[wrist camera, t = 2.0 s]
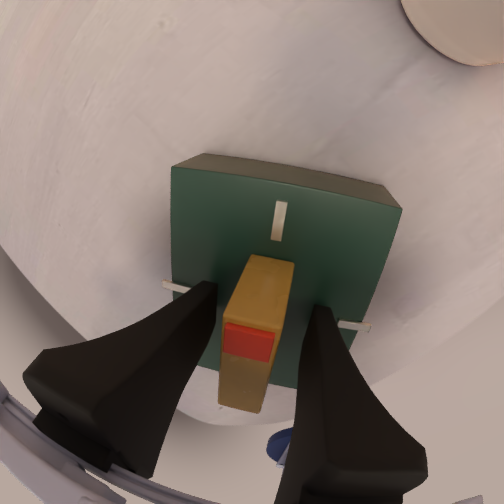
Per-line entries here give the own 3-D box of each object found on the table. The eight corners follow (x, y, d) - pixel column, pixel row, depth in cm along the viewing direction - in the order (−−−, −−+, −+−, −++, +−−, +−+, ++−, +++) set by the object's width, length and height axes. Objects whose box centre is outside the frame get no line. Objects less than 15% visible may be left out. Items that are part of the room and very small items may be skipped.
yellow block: (274, 350, 12) (258, 420, 9) (239, 342, 13) (215, 409, 9) (295, 261, 10) (281, 334, 7) (250, 252, 10) (219, 320, 7)
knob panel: (334, 354, 16) (333, 397, 13) (190, 322, 17) (169, 359, 14) (393, 188, 11) (415, 213, 8) (193, 152, 12) (158, 166, 10)
